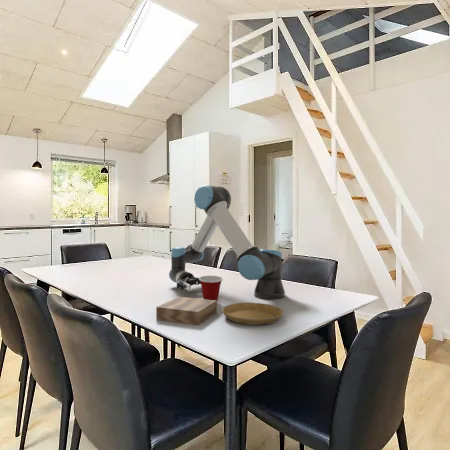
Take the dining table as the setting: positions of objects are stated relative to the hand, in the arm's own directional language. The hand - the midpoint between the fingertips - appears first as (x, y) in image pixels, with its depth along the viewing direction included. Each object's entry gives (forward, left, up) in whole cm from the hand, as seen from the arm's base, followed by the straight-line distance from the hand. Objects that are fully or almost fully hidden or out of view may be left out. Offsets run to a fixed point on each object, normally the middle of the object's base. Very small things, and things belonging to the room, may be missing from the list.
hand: (203, 286), depth 173 cm
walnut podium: (-5, +26, -7) cm, 27 cm away
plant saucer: (-30, +18, -7) cm, 35 cm away
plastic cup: (-6, +5, -7) cm, 10 cm away
